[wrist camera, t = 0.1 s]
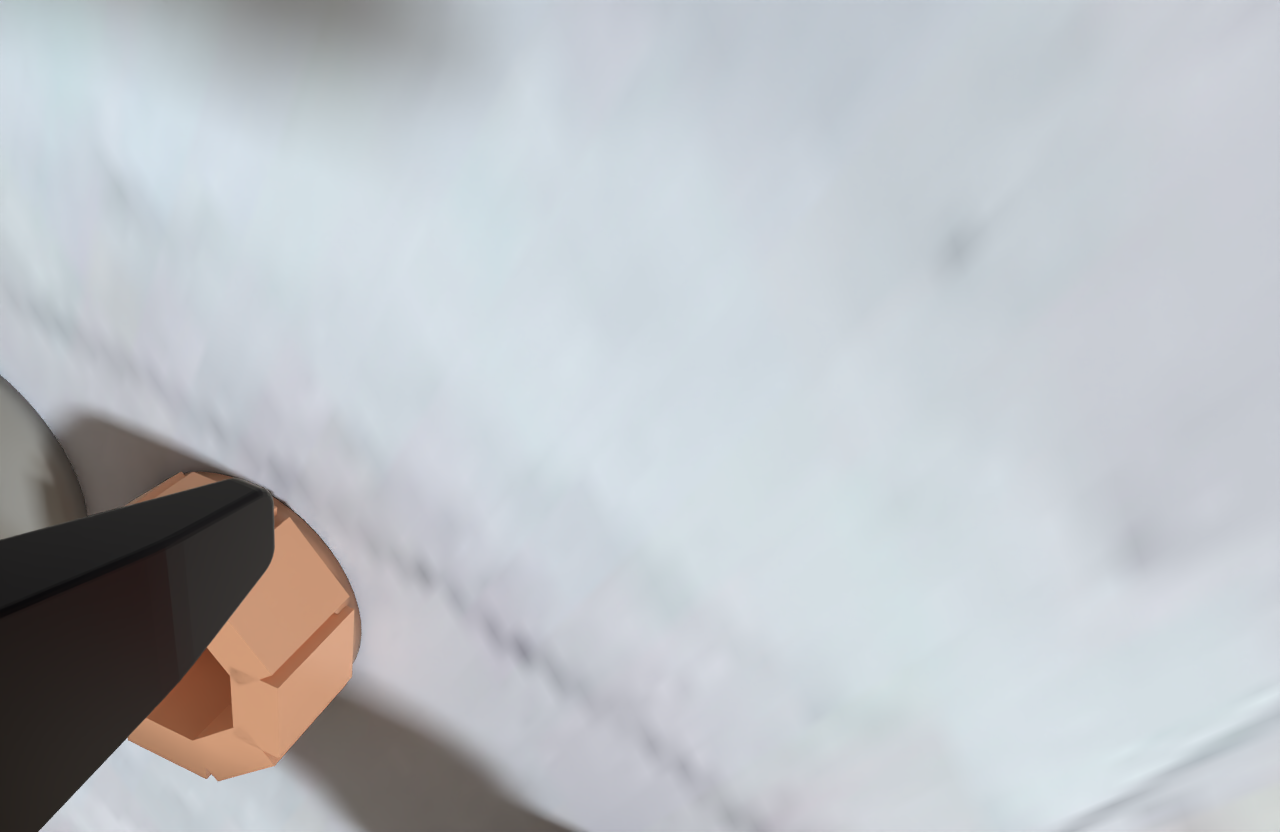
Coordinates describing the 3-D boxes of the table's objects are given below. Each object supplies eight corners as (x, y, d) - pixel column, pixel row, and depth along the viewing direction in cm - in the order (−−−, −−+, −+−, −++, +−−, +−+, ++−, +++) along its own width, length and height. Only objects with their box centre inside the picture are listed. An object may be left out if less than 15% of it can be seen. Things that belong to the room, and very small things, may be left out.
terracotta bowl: (357, 723, 37) (280, 816, 33) (153, 628, 39) (59, 705, 35) (366, 532, 32) (276, 616, 28) (130, 433, 34) (17, 500, 30)
